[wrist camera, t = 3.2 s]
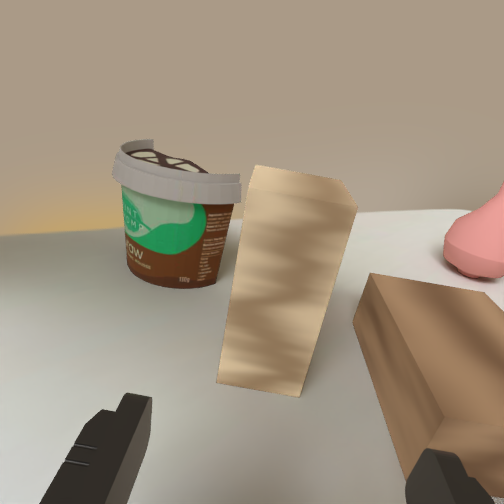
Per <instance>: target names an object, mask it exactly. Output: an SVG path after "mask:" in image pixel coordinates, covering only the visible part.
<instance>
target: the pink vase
mask: <svg viewBox="0 0 504 504" xmlns="http://www.w3.org/2000/svg"><path fill="white" fill-rule="evenodd" d="M443 255H444V258H445V259H446V260H447V261H448V262H450V263H451V264H453V265H454V266H456V267H457V268H458V271H459V272H460V273H461V274H463V275H465V276H468V277H471V278H478V277H479V276H482V277H489V278H500V277H503V276H504V182H503V184H502V186H501V188H500V191H499V193H498V194H497V195H496V196H494V197H493V198H492V199H490V200H489V201H488V202H487V203H486V204H484V205H483V206H482V207H480V208H479V209H477V210H475V211H473V212H471V213H468V214H466V215H464V216H462V217H460V218H458V219H456V220H455V222H454V223H453V225H452V226H451V228H450V229H449V230H448V232H447V233H446V235H445V240H444V251H443Z"/></svg>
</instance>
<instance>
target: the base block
mask: <svg viewBox="0 0 504 504" xmlns="http://www.w3.org/2000/svg"><path fill="white" fill-rule="evenodd" d="M352 323H353V326H354V329H355V332H356V335H357V338H358V341H359V344H360V347H361V350H362V353H363V355H364V358H365V361H366V364H367V367H368V370H369V373H370V376H371V379H372V382H373V385H374V388H375V391H376V394H377V397H378V400H379V403H380V406H381V409H382V412H383V415H384V418H385V421H386V424H387V427H388V430H389V433H390V436H391V439H392V442H393V445H394V447H395V450H396V453H397V456H398V459H399V462H400V465H401V468H402V471H403V474H404V477H405V480H406V481H407V478H408V476H409V475H410V473H411V471H412V469H413V468H414V466H415V464H416V462H417V461H418V459H419V457H420V455H421V454H422V452H423V450H424V449H426V448H430V449H436V450H441V451H447V452H452V453H455V454H456V455H457V456H458V457H459V458H460V460H461V462H462V464H463V466H464V468H465V470H466V473H467V475H468V477H473V478H476V480H477V481H478V482H479V483H480V484H481V486H482V487H483V488H484V489H485V490H486V492H487V493H488V494H489V495H490V496H493V497H499V498H504V312H503V311H502V310H501V309H500V308H499V307H498V306H497V305H496V304H495V303H494V302H493V301H492V300H491V299H490V298H489V297H488V296H487V295H486V294H485V293H484V292H479V291H473V290H467V289H461V288H455V287H450V286H444V285H438V284H432V283H426V282H421V281H415V280H409V279H403V278H397V277H392V276H386V275H380V274H374V273H370V274H369V277H368V280H367V282H366V285H365V288H364V291H363V294H362V297H361V299H360V302H359V305H358V308H357V311H356V313H355V316H354V319H353V322H352Z"/></svg>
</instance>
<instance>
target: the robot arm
mask: <svg viewBox="0 0 504 504" xmlns="http://www.w3.org/2000/svg"><path fill="white" fill-rule="evenodd" d="M151 414H152V397H148V396H143V395H137V394H132V393H126V394H125V395H124V396H123V398H122V400H121V402H120V404H119V406H118V408H117V410H116V412H114V411H109V410H103V409H102V410H101V411H99V412H98V413H97V414H96V415H95V416H94V417H93V418H92V419H90V420H89V421H88V422H87V423H86V424H85V426H84V427H83V429H82V431H81V432H80V434H79V436H78V438H77V439H76V441H75V443H74V446H73V447H72V448H71V450H70V451H69V453H68V455H67V457H66V458H65V462H64V463H63V464H62V465H61V467H60V469H59V470H58V472H57V474H56V476H55V477H54V479H53V481H52V483H51V484H50V486H49V488H48V489H47V491H46V493H45V495H44V496H43V498H42V500H41V502H40V503H39V504H127V502H128V499H129V496H130V494H131V491H132V488H133V485H134V483H135V480H136V477H137V475H138V472H139V469H140V467H141V464H142V461H143V458H144V456H145V453H146V450H147V446H148V442H149V437H150V431H151ZM405 495H406V502H407V504H495V503H494V501H493V499H492V498H491V496H490V495H489V494H488V493H487V492H486V490H485V489H484V488H483V487H482V486H481V484H480V483H479V482H478V481H477V480H476V478H473V477H468V475H467V473H466V470H465V468H464V466H463V464H462V462H461V460H460V458H459V457H458V456H457V455H456V454H455V453H452V452H447V451H441V450H436V449H430V448H426V449H424V450H423V452H422V454H421V455H420V457H419V459H418V461H417V462H416V464H415V466H414V468H413V469H412V471H411V473H410V475H409V476H408V478H407V481H406V486H405Z"/></svg>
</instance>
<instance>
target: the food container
mask: <svg viewBox="0 0 504 504" xmlns="http://www.w3.org/2000/svg"><path fill="white" fill-rule="evenodd" d="M112 175H113V178H114V179H115V180H116V181H117V182H119V183H120V184H121V186H122V199H123V212H124V225H125V238H126V251H127V264H128V267H129V268H130V270H131V272H132V273H133V274H134V275H135V276H137V277H138V278H140V279H142V280H144V281H146V282H148V283H151V284H154V285H158V286H162V287H168V288H178V289H191V288H200V287H205V286H209V285H212V284H215V283H216V279H217V274H218V270H219V266H220V262H221V257H222V253H223V249H224V245H225V240H226V236H227V232H228V227H229V223H230V219H231V215H232V210H233V206H234V203H240V202H241V183H239V180H240V174H209V173H208V172H206V171H205V170H203V169H202V168H200V167H199V166H198V165H196V164H194V163H193V162H191V161H188V160H184V159H179V158H173V157H169V156H166V155H164V154H161V153H159V152H156V151H154V149H153V139H143V140H134V141H128V142H125V143H123V144H122V145H121V146H120V151H119V152H118V153H117V154H116V158H115V162H114V167H113V171H112Z"/></svg>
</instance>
